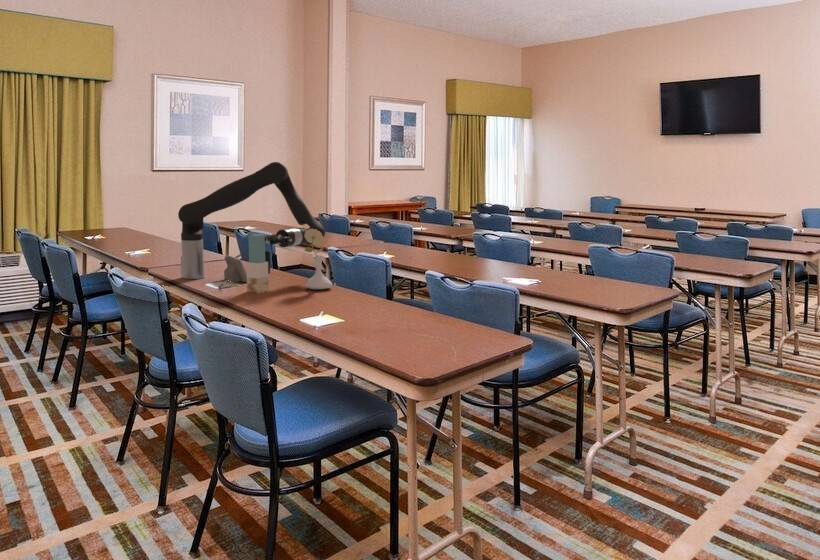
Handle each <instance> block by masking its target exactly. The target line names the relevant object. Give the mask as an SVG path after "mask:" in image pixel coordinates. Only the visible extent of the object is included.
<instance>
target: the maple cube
mask: <svg viewBox="0 0 820 560" xmlns="http://www.w3.org/2000/svg"><path fill="white" fill-rule="evenodd" d="M269 281H270V280H269V276H268V277H264V278H259V279H257V278H250V277H247V282H246V289H247V290H246V291H250V292H249V293H252V292H256V293H255V294H262V293H265V291H267V292H269V291H270V290H269V289H270V287H269V284H270V282H269ZM261 292H262V293H261Z"/></svg>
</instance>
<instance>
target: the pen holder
mask: <svg viewBox="0 0 820 560" xmlns="http://www.w3.org/2000/svg"><path fill="white" fill-rule="evenodd" d="M265 262H268V275H269V274H270V273H271V251H267V250H265Z"/></svg>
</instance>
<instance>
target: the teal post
mask: <svg viewBox="0 0 820 560" xmlns="http://www.w3.org/2000/svg"><path fill="white" fill-rule="evenodd" d="M265 235H266V234H261V233H259V234H258V233H254V234H248V235H247V236H248V237H247V238H248V239H247V240H248V262H251V263H262V262H265V251H266V242H265Z"/></svg>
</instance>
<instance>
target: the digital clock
mask: <svg viewBox="0 0 820 560" xmlns="http://www.w3.org/2000/svg"><path fill="white" fill-rule="evenodd" d="M224 260H225V263H226V268H225V269H224V271H223V276H224V279H226V280H229V281H231V282H236V283H240V282H239V281H242V282H241V283H247V270H246V268H245V267H244V264H243V261H242V260H241V259H240V258H238V257H235V256H232V255H225V257H224ZM226 280H225V281H226ZM229 281H228V282H229ZM231 282H230V283H231Z"/></svg>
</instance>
